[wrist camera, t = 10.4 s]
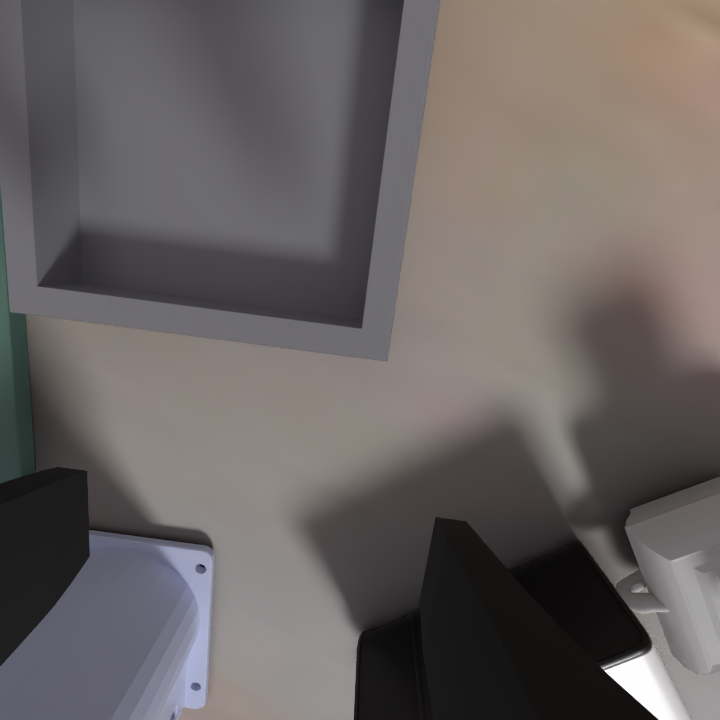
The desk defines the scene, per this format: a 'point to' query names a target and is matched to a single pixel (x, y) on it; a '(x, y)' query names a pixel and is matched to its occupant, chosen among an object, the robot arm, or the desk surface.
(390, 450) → the desk surface
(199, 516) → the desk surface
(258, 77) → the bin
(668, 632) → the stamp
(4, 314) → the bin
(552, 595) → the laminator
